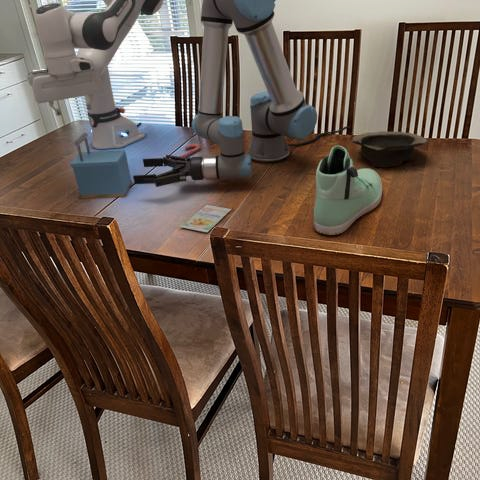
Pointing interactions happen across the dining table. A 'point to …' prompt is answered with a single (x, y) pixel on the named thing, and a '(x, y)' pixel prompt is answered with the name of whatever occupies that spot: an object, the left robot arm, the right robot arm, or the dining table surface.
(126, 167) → the chest
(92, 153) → the lid
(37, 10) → the left robot arm
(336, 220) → the sneaker
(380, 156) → the stone bowl
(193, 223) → the baking ingredient package
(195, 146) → the candy cane
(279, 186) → the dining table surface
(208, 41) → the right robot arm
